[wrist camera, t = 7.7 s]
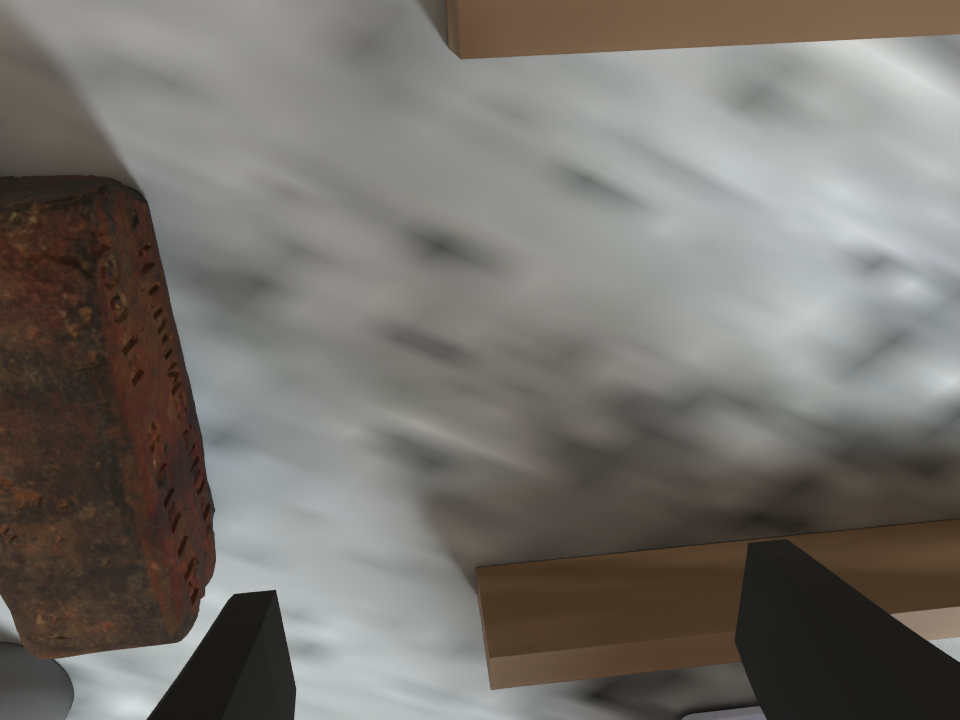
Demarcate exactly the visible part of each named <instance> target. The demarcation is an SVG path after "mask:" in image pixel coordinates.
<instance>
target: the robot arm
mask: <svg viewBox="0 0 960 720" xmlns="http://www.w3.org/2000/svg"><path fill="white" fill-rule="evenodd" d="M734 642H735V644H736V647H737V650H738V652H739V655H740V658H741V660H742V663H743V666H744V668H745V671H746V674H747V676H748V679H749V681H750V684H751V686H752V689H753V691H754V694H755V696H756V698H757V701H758V703H759V706H755V707H746V708H738V709H729V710H721V711H712V712H704V713H695V714H690V715H687V716H685V717H683V718H682V720H960V662H958V661H957V660H955V659H954V658H952V657H951V656H949V655H947V654H946V653H945V652H943V651H942V650H940V649H939V648H937V647H936V646H934V645H933V644H931V643H930V642H928V641H927V640H925V639H924V638H922V637H921V636H920V635H918V634H917V633H915V632H914V631H912V630H911V629H910V628H908V627H907V626H905V625H904V624H903V623H901V622H900V621H898V620H897V619H896V618H894V617H893V616H891V615H890V614H889V613H887V612H886V611H884V610H883V609H882V608H880V607H879V606H878V605H876V604H875V603H873V602H872V601H871V600H869V599H868V598H867V597H865V596H864V595H862V594H861V593H860V592H858V591H857V590H856V589H854V588H853V587H852V586H850V585H849V584H848V583H846V582H845V581H844V580H842V579H841V578H840V577H838V576H837V575H836V574H834V573H833V572H832V571H830V570H829V569H827V568H826V567H825V566H823V565H822V564H821V563H819V562H818V561H817V560H815V559H814V558H813V557H811V556H810V555H809V554H807V553H806V552H804V551H803V550H802V549H800V548H799V547H797V546H796V545H795V544H793V543H792V542H790V541H789V540H787V539H781V540H771V541H761V542H751V543H748V549H747V556H746V563H745V570H744V577H743V584H742V591H741V598H740V605H739V612H738V619H737V626H736V633H735V640H734ZM295 699H296V686H295V681H294V676H293V671H292V666H291V661H290V656H289V651H288V647H287V642H286V637H285V632H284V627H283V622H282V617H281V612H280V608H279V603H278V598H277V593H276V590H270V591H260V592H250V593H240V594H234V595H233V596H232V597H231V598H230V599H229V600H228V601H227V603H226V604H225V606H224V607H223V609H222V611H221V612H220V614H219V615H218V617H217V618H216V620H215V621H214V623H213V624H212V626H211V628H210V629H209V631H208V632H207V634H206V635H205V637H204V638H203V640H202V641H201V643H200V644H199V646H198V647H197V649H196V650H195V652H194V653H193V655H192V656H191V658H190V659H189V661H188V662H187V664H186V665H185V667H184V668H183V669H182V671H181V672H180V674H179V675H178V677H177V678H176V679H175V681H174V682H173V684H172V685H171V686H170V688H169V689H168V691H167V692H166V693H165V695H164V696H163V698H162V699H161V700H160V702H159V703H158V704H157V706H156V707H155V709H154V710H153V711H152V713H151V714H150V716H149V717H148V718H147V720H294V713H295Z"/></svg>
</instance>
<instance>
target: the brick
mask: <svg viewBox="0 0 960 720" xmlns="http://www.w3.org/2000/svg"><path fill="white" fill-rule="evenodd" d="M214 512H215V508H214V504H213V499H212V495H211V490H210V487H209V484H208V481H207V475H206V468H205V461H204V450H203V441H202V435H201V431H200V426H199V422H198V418H197V414H196V409H195V402H194V400H193V395H192V390H191V386H190V381H189V377H188V374H187V371H186V367H185V362H184V357H183V353H182V348H181V344H180V340H179V335H178V332H177V328H176V324H175V320H174V316H173V312H172V308H171V303H170V298H169V293H168V288H167V284H166V279H165V275H164V270H163V267H162V263H161V259H160V255H159V250H158V245H157V241H156V236H155V232H154V228H153V223H152V219H151V215H150V210H149V206H148V202H147V201H146V200H145V199H144V197H143V196H142V195H141V194H140V193H139V192H138V191H137V190H135V189H133V188H131V187H128V186H126V185H123V184H122V183H121V182H118V181H116V180H114V179H112V178H107V177H97V176H93V175H89V176H83V175H64V176H31V177H27V176H24V177H22V178H17V179H16V178H14V177H13V176H9V177H0V595H1V596H2V598H3V600H4V601H5V603H6V605H7V606H8V608H9V610H10V611H11V614H12V617H13V620H14V623H15V626H16V629H17V632H18V633H19V636H20V639H21V641H22V644H23V646H24V647H25V648H26V649H27V650H28V651H29V652H30V653H31V654H32V655H34V656H35V657H38V658H41V659H57V658H64V657H71V656H77V655H83V654H89V653H96V652H103V651H110V650H119V649H128V648H137V647H146V646H156V645H163V644H171V643H177V642H179V641H181V640H182V639H183V638H184V637H185V636H186V635H187V634H188V633H189V631H190V630H191V629H192V627H193V625H194V623H195V621H196V619H197V617H198V612H199V605H200V599H201V598H203V597H204V596H205V587H206V585H207V584H208V583H209V581H210V580H211V578H212V576H213V573H214V568H215V563H216V551H215V540H214V531H213V515H214Z"/></svg>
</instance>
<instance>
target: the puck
mask: <svg viewBox="0 0 960 720" xmlns="http://www.w3.org/2000/svg"><path fill="white" fill-rule="evenodd" d="M73 700H74V689H73V685H72V682H71V680H70V678H69V676H68V675H67V673H66V672H65V671H64V670H63V669H62V667H61V666H60V665H58V664H57V663H56V662H55V661H54V660H52V659H41V658H38V657H35V656H34V655H32V654H31V653H30V652H29V651H28V650H27V649H26V648H25V647H24V646H20V645H16V644H9V643H0V720H65V719H66V717H67V715H68V713H69V711H70V708H71V706H72V703H73Z"/></svg>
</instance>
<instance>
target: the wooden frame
mask: <svg viewBox="0 0 960 720" xmlns="http://www.w3.org/2000/svg"><path fill="white" fill-rule="evenodd" d="M446 15H447V33H448V48H449V49H450V50H451V51H452V52H453V53H454V54H456V55H457V56H458V57H459V58H460V59H474V58H494V57H514V56H534V55H554V54H574V53H593V52H613V51H633V50H653V49H673V48H693V47H713V46H733V45H753V44H773V43H792V42H812V41H832V40H852V39H872V38H892V37H912V36H932V35H952V34H960V0H446ZM781 539H787V540H789V541H790V542H792V543H793V544H795V545H796V546H797V547H799V548H800V549H802V550H803V551H804V552H806V553H807V554H809V555H810V556H811V557H813V558H814V559H815V560H817V561H818V562H819V563H821V564H822V565H823V566H825V567H826V568H827V569H829V570H830V571H832V572H833V573H834V574H836V575H837V576H838V577H840V578H841V579H842V580H844V581H845V582H846V583H848V584H849V585H850V586H852V587H853V588H854V589H856V590H857V591H858V592H860V593H861V594H862V595H864V596H865V597H867V598H868V599H869V600H871V601H872V602H873V603H875V604H876V605H878V606H879V607H880V608H882V609H883V610H884V611H886V612H887V613H889V614H890V615H891V616H893V617H894V618H896V619H897V620H898V621H900V622H901V623H903V624H904V625H905V626H907V627H908V628H910V629H911V630H912V631H914V632H915V633H917V634H918V635H920V636H921V637H922V638H924V639H925V640H936V639H945V638H954V637H960V519H954V520H944V521H934V522H924V523H914V524H904V525H894V526H884V527H874V528H864V529H855V530H845V531H835V532H825V533H815V534H805V535H795V536H785V537H775V538H765V539H755V540H745V541H735V542H726V543H716V544H706V545H696V546H686V547H676V548H666V549H656V550H646V551H636V552H626V553H616V554H607V555H597V556H587V557H577V558H567V559H557V560H547V561H537V562H527V563H517V564H507V565H497V566H487V567H478V568H476V572H477V590H478V602H479V609H480V616H481V623H482V630H483V638H484V645H485V652H486V659H487V666H488V674H489V681H490V688H491V690H494V689H503V688H512V687H521V686H530V685H538V684H547V683H556V682H565V681H574V680H583V679H591V678H600V677H609V676H618V675H627V674H636V673H645V672H653V671H662V670H671V669H680V668H689V667H698V666H706V665H715V664H724V663H733V662H742V660H741V658H740V655H739V652H738V650H737V647H736V644H735V642H734V640H735V633H736V626H737V619H738V612H739V605H740V598H741V591H742V584H743V577H744V570H745V563H746V556H747V549H748V543H751V542H761V541H771V540H781Z"/></svg>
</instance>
